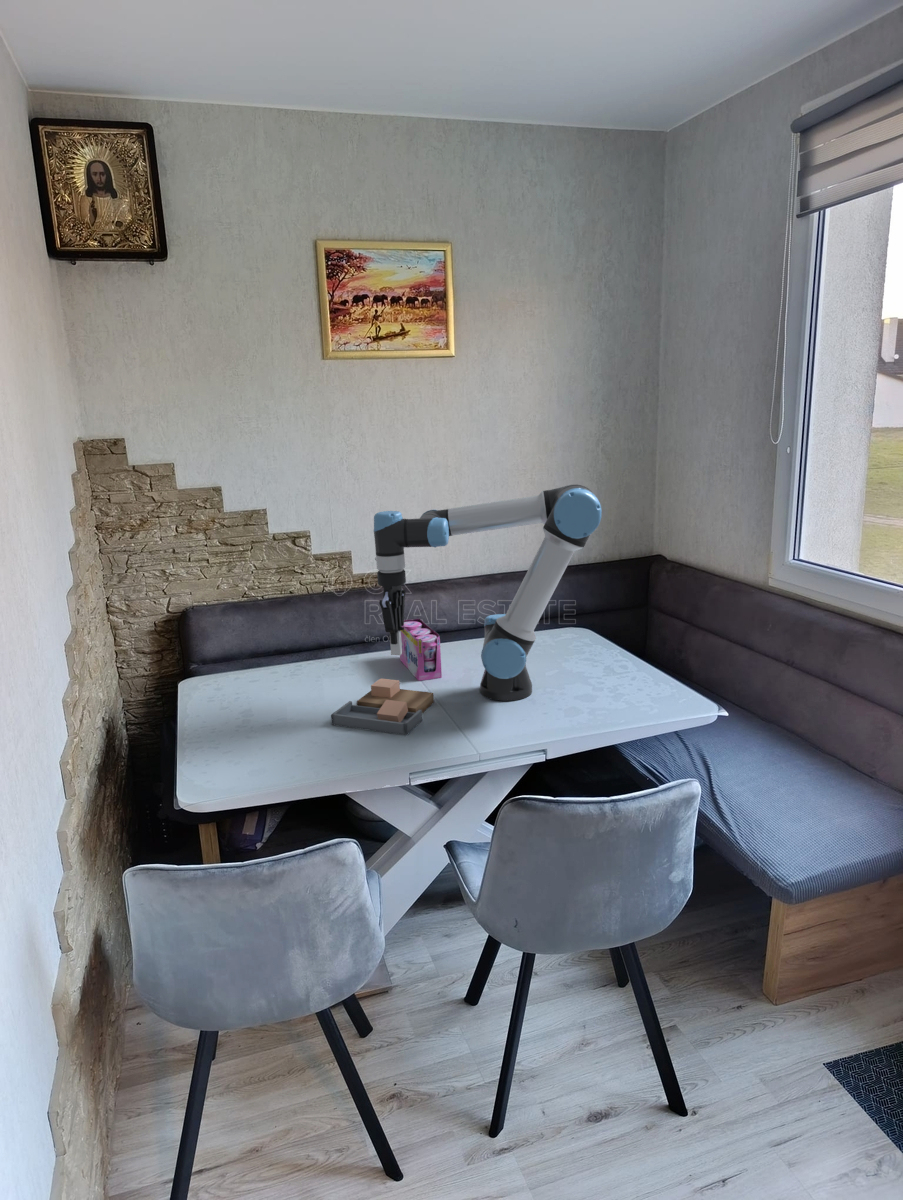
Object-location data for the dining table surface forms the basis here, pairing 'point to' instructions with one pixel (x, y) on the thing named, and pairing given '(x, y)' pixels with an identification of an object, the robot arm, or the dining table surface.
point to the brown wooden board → (412, 698)
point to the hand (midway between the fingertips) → (396, 654)
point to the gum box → (421, 650)
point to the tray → (373, 719)
